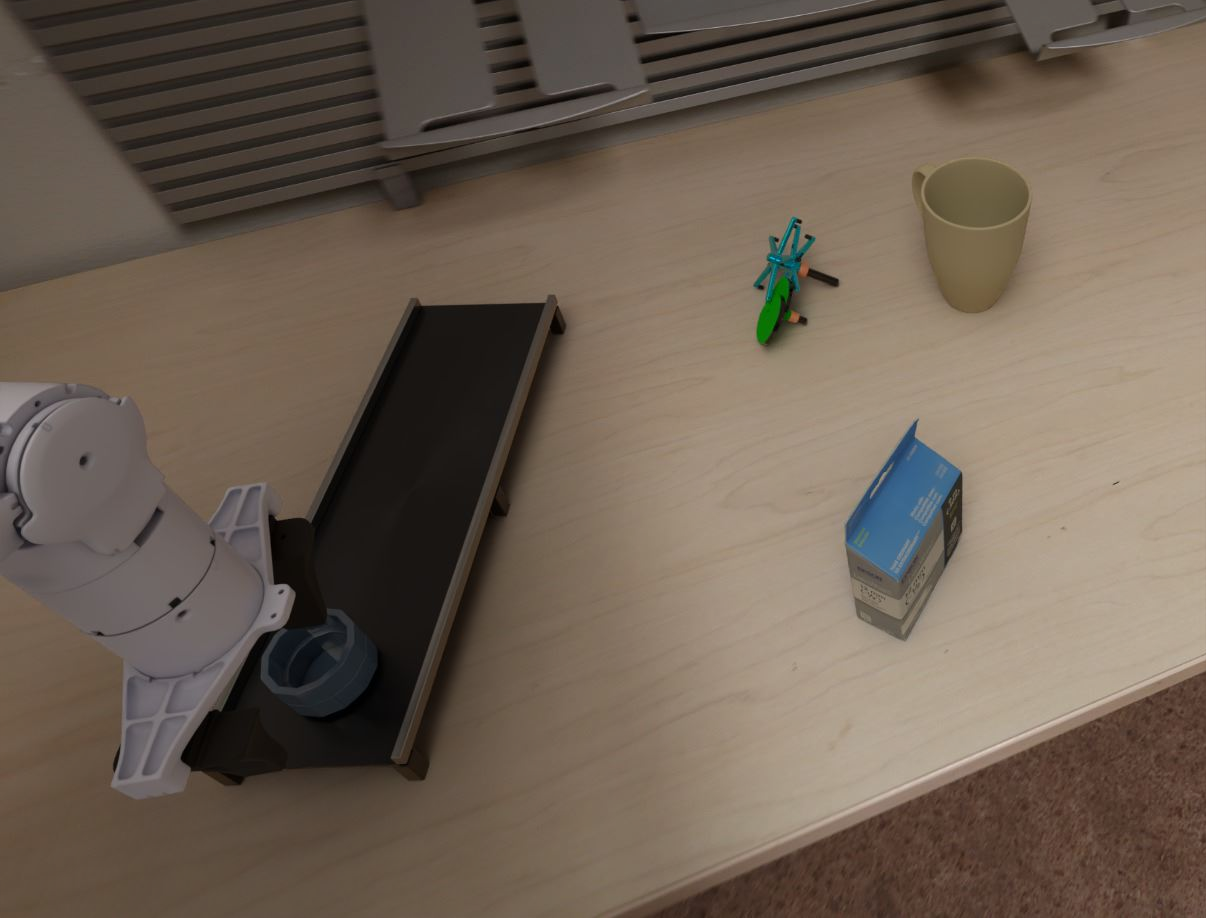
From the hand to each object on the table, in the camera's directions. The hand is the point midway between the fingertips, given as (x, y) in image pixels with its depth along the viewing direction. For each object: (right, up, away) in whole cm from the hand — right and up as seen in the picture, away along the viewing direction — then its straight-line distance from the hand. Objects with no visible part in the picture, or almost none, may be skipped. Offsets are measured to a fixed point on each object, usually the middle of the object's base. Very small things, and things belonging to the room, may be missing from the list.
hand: (288, 690), depth 51 cm
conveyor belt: (-1, +5, +18) cm, 19 cm away
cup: (-1, -2, +7) cm, 7 cm away
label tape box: (+34, +1, +14) cm, 37 cm away
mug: (+39, +20, +34) cm, 55 cm away
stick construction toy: (+24, +19, +33) cm, 45 cm away
